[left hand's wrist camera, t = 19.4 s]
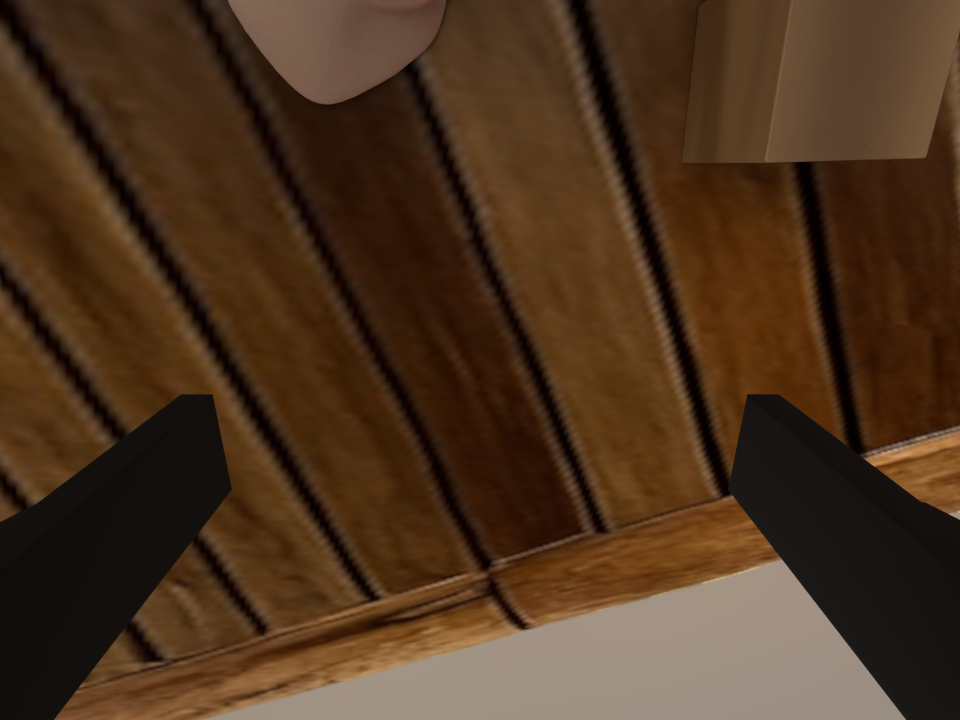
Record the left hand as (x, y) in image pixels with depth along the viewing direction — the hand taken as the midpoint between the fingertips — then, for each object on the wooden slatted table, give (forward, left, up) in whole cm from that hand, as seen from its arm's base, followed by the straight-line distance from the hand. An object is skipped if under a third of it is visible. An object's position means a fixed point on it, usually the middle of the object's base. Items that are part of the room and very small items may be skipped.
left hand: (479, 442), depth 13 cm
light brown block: (-4, +17, -17) cm, 24 cm away
